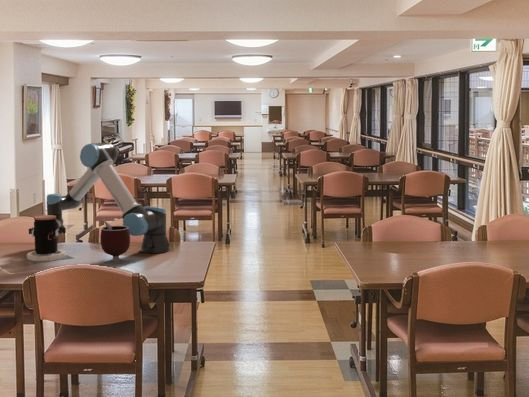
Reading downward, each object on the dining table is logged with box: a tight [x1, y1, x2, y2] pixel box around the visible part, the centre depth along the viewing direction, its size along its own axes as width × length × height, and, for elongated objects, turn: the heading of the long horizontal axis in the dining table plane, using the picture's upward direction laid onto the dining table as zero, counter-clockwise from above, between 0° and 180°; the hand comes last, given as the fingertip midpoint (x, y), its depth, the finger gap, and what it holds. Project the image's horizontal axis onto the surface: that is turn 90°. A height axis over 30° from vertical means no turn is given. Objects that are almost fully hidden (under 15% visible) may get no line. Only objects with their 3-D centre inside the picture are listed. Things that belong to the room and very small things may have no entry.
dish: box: [26, 248, 67, 262], centre depth 364 cm, size 18×18×2 cm
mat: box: [19, 254, 74, 265], centre depth 364 cm, size 22×20×1 cm
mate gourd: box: [100, 220, 131, 267], centre depth 351 cm, size 16×14×20 cm
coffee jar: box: [33, 214, 58, 254], centre depth 363 cm, size 11×11×18 cm
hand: (44, 233), depth 359 cm, fingers closed on coffee jar, 11 cm apart
